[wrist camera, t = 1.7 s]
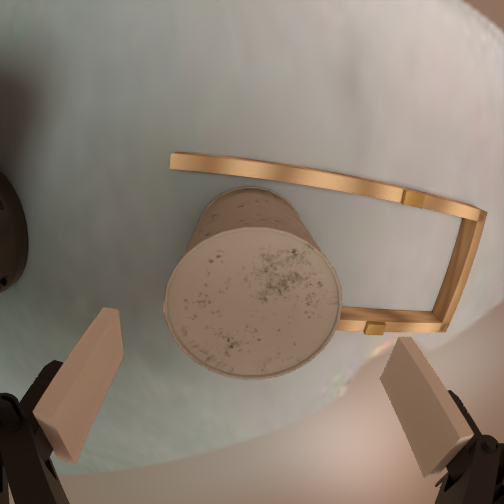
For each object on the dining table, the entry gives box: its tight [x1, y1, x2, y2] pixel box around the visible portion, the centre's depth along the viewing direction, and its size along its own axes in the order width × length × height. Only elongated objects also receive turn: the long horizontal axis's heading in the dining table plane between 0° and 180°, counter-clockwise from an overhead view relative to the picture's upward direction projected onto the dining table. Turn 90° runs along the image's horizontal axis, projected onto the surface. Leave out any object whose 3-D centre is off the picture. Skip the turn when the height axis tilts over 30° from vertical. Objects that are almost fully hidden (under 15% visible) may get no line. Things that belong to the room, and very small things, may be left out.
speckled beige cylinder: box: [164, 186, 342, 379], centre depth 22 cm, size 10×10×12 cm
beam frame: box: [164, 152, 487, 335], centre depth 27 cm, size 30×14×3 cm, turn 82°
